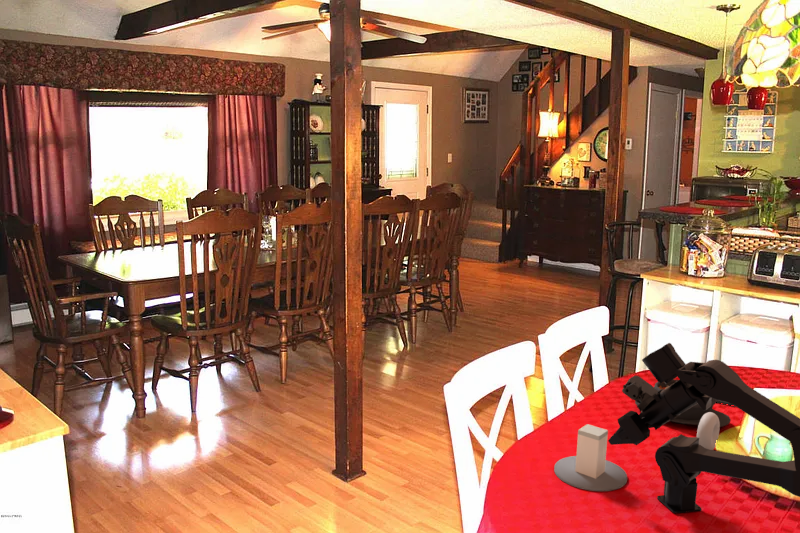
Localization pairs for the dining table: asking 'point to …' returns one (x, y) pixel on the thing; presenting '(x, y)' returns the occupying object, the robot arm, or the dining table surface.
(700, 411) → the casserole
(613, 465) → the mat
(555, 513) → the dining table surface
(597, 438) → the card box
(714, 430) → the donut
